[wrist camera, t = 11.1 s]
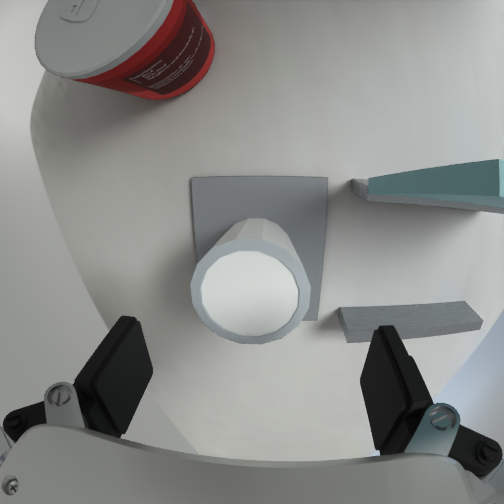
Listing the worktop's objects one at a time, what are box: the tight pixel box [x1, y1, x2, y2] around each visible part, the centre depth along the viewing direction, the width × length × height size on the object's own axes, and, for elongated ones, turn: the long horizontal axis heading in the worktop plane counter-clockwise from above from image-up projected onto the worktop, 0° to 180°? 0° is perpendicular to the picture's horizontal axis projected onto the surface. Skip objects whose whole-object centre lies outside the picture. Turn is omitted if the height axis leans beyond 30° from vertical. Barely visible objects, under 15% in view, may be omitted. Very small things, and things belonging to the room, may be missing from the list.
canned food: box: [35, 0, 215, 100], centre depth 13 cm, size 8×8×11 cm
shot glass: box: [190, 218, 311, 344], centre depth 20 cm, size 7×7×7 cm
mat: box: [191, 176, 328, 321], centre depth 23 cm, size 12×10×1 cm
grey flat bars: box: [339, 179, 504, 343], centre depth 21 cm, size 12×14×4 cm
